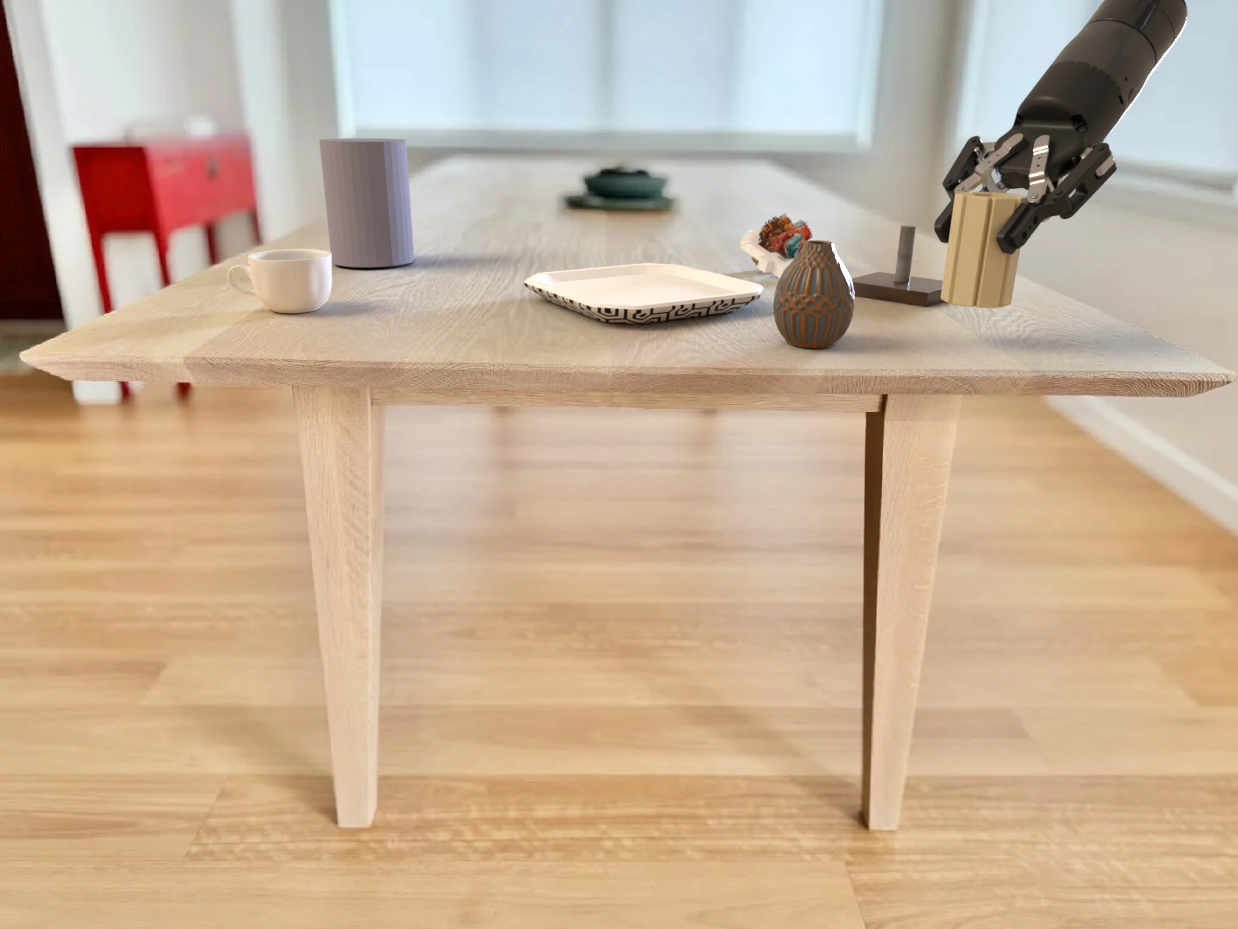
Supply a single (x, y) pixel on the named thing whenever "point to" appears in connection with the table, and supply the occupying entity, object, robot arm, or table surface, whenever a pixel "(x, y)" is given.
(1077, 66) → the robot arm
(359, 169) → the container
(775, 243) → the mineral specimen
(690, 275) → the plate
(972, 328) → the table surface
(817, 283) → the vase
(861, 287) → the peg stand
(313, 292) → the teacup
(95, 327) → the table surface
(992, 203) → the fluted hollow cylinder
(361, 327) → the table surface
